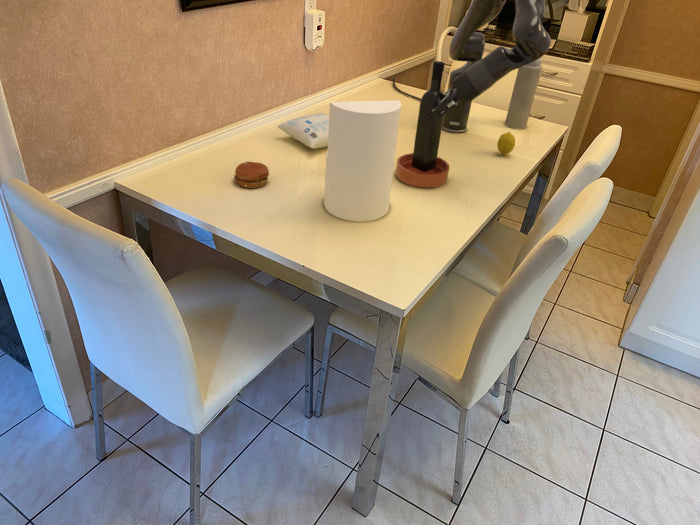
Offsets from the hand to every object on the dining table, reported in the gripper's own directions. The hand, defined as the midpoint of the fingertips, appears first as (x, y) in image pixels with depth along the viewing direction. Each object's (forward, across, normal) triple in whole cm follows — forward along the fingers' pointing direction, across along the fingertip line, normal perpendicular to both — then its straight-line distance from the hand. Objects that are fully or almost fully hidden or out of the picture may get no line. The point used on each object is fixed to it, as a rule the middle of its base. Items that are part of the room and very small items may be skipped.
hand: (425, 117), depth 147 cm
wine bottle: (+10, 0, +12) cm, 15 cm away
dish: (+12, 0, +14) cm, 18 cm away
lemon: (-5, -28, +31) cm, 42 cm away
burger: (+44, +21, -18) cm, 52 cm away
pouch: (+38, -14, -12) cm, 42 cm away
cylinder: (+22, +24, +4) cm, 33 cm away
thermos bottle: (-8, -61, +34) cm, 70 cm away
